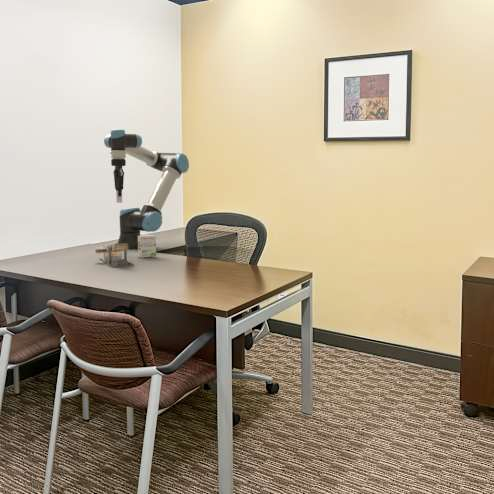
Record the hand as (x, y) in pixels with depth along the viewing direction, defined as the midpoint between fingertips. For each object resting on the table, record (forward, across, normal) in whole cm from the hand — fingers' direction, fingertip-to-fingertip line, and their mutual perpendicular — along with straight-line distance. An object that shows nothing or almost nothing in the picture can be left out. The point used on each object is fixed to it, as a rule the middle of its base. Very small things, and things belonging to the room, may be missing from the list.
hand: (119, 202), depth 305 cm
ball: (+28, +15, -9) cm, 33 cm away
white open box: (+28, +14, -9) cm, 33 cm away
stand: (+28, +28, -9) cm, 41 cm away
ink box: (+29, +16, +10) cm, 34 cm away
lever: (+22, +28, -12) cm, 38 cm away
